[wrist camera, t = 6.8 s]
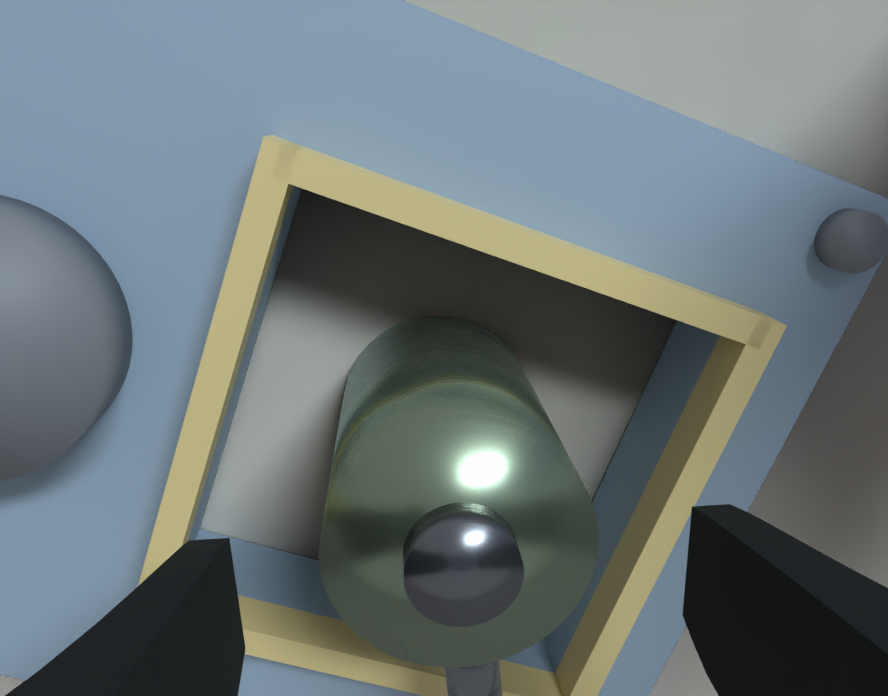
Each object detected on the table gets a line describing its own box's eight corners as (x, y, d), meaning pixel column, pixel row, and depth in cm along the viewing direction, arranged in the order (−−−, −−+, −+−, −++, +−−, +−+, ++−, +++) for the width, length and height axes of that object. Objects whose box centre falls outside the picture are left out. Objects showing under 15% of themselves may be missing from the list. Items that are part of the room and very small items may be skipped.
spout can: (522, 304, 16) (604, 423, 10) (538, 532, 18) (616, 751, 12) (329, 328, 16) (291, 463, 10) (366, 555, 18) (353, 788, 12)
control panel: (849, 196, 16) (969, 218, 13) (572, 737, 20) (608, 858, 17) (-104, -189, 13) (-279, -297, 9) (-198, 560, 17) (-341, 668, 14)
